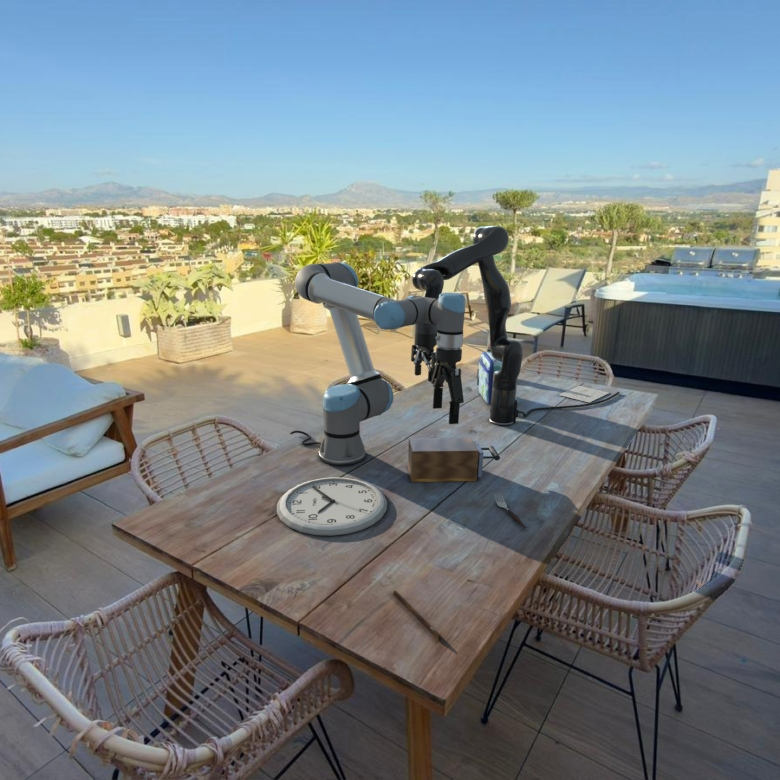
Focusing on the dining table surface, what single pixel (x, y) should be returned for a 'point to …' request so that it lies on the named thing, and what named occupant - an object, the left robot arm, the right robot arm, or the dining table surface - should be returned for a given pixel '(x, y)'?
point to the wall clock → (331, 506)
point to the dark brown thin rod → (416, 614)
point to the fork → (504, 505)
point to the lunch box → (487, 375)
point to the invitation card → (584, 394)
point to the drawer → (485, 457)
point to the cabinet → (442, 459)
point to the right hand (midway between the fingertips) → (424, 378)
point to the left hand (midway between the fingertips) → (445, 415)
